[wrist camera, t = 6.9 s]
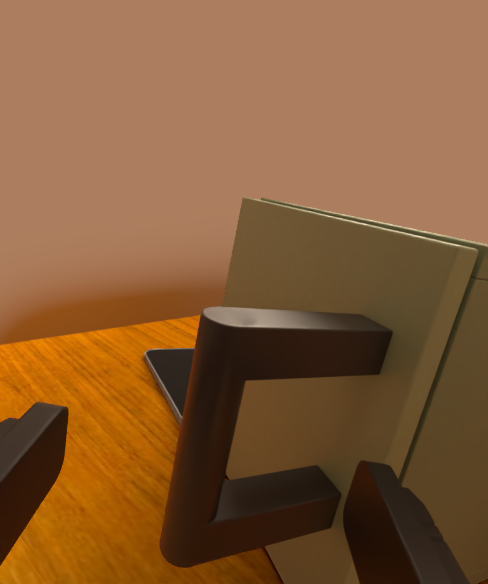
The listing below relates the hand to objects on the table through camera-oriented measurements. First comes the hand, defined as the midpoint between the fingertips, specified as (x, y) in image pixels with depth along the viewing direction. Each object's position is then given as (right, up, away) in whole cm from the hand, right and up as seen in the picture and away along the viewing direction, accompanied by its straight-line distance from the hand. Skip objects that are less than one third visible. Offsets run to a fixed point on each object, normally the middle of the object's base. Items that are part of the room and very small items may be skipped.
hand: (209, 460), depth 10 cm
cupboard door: (-2, -7, +9) cm, 11 cm away
